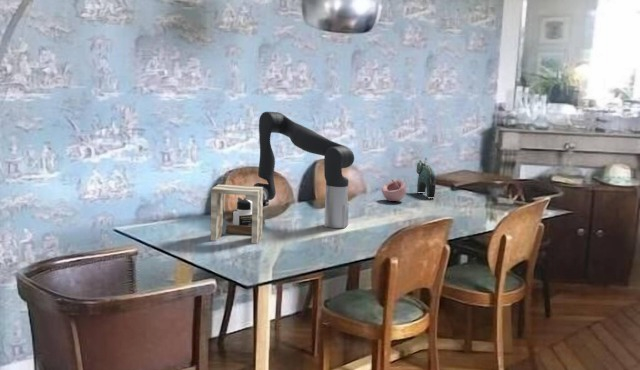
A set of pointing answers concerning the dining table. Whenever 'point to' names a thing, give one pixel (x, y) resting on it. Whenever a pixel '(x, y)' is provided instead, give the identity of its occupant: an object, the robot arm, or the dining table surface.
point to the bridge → (218, 208)
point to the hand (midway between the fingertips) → (248, 206)
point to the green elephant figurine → (425, 178)
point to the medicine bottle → (243, 213)
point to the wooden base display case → (241, 228)
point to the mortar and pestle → (394, 190)
